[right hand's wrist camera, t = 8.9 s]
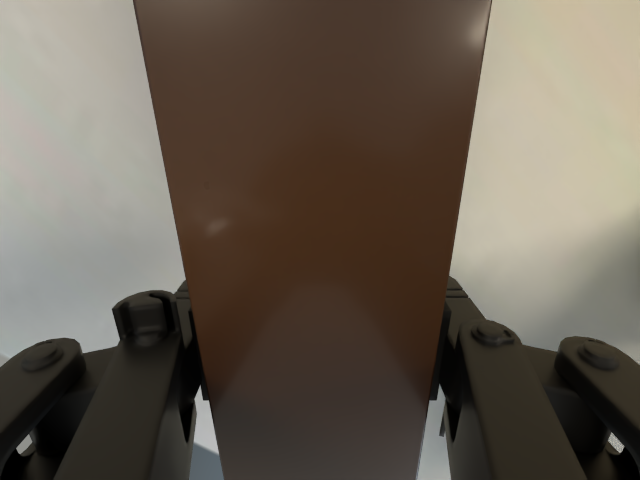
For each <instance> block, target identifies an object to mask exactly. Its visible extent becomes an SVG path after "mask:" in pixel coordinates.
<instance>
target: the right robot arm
mask: <svg viewBox="0 0 640 480" xmlns="http://www.w3.org/2000/svg"><path fill="white" fill-rule="evenodd" d="M112 311H113V315H114V319H115V322H116V326H117V330H118V334H119V337H120V341H119V343H118V345H117V346H116V347H112V348H108V349H103V350H98V351H93V352H88V353H82V350H81V347H80V344H79V343H78V342H77V341H76V340H75V339H69V338H59V339H50V340H46V341H42V342H39V343H37V344H35V345H33V346H31V347H29V348H27V349H24V350H23V351H21V352H20V353H18V354H17V355H15V356H14V357H12V358H11V359H10V360H9V361H7V362H6V363H5V364H4V365H3V366H1V367H0V480H189V475H190V466H191V458H192V450H193V441H194V433H195V424H196V416H197V412H196V405H195V400H194V398H195V396H196V394H197V391H198V389H199V387H200V384H201V390H202V396H203V400H209V398H208V392H207V387H206V382H205V377H204V371H203V366H202V361H201V356H200V350H199V345H198V340H197V335H196V329H195V324H194V319H193V314H192V308H191V303H190V298H189V293H188V287H187V282H186V280H185V281H184V282H183V283H182V285H181V286H180V287H179V288H178V290H177V292H175V294H174V295H173V294H172V293H171V292H167V291H163V290H151V291H145V292H140V293H137V294H134V295H131V296H129V297H127V298H125V299H123V300H121V301H120V302H118V303H117V304H116V305H115V306H114V307H113V308H112ZM439 383H440V385H441V388H442V390H443V393H444V395H445V397H446V400H445V405H444V411H443V416H442V422H441V427H440V434H439V436H443V437H444V433H445V432H446V440H447V449H448V457H449V465H450V474H451V480H640V365H639V364H638V363H636V362H635V361H634V360H633V359H631V358H630V357H629V356H628V355H626V354H625V353H623V352H622V351H620V350H619V349H617V348H615V347H613V346H611V345H609V344H606V343H605V342H603V341H600V340H597V339H596V340H595V339H593V338H588V337H578V336H573V337H567V338H565V339H564V340H562V341H561V342H560V346H559V349H558V352H555V351H550V350H545V349H540V348H535V347H530V346H526V345H522V343H521V341H520V339H519V338H518V336H517V335H516V334H515V333H514V332H513V331H512V330H510V329H509V328H507V327H506V326H504V325H502V324H499V323H497V322H494V321H490V320H486V319H485V317H484V316H483V315H482V313H481V312H480V311H479V310H478V308H477V307H476V306H475V304H474V303H473V302H472V300H471V299H470V298H468V295H467V294H466V293H465V291H464V290H463V289H462V287H461V286H460V285H459V283H458V282H457V281H456V280H455V279H454V278H452V277H450V276H449V278H448V284H447V291H446V297H445V304H444V310H443V316H442V323H441V329H440V335H439V342H438V348H437V355H436V361H435V367H434V374H433V380H432V386H431V393H430V399H429V400H437V395H438V389H439ZM611 432H612V433H613V434H614V435H615V436H616V437H617V438H618V440H619V441H620V442H621V443H622V444H623V445H624V446H625V447H624V449H623V451H622V452H621V453H619V452H618V451H617V450H616V449H615V448H614V447H613V446H612V445H611V444H610V443H609V442H608V439H609V436H610V434H611ZM28 434H29V435H30V437H31V440H32V444H31V445H30V446H29V447H28V448H27V449H26V450H25V451H24V452H23V453H21V454H19V453H18V452H17V449H16V448H17V446H18V445H19V444H20V443H21V442H22V441H23V440H24V438H25V437H26V436H27V435H28Z"/></svg>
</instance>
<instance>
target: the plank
mask: <svg viewBox="0 0 640 480" xmlns="http://www.w3.org/2000/svg"><path fill="white" fill-rule="evenodd" d="M133 4H134V9H135V14H136V19H137V25H138V30H139V35H140V40H141V46H142V51H143V56H144V61H145V67H146V72H147V77H148V82H149V88H150V93H151V98H152V104H153V109H154V114H155V119H156V125H157V130H158V135H159V140H160V146H161V151H162V156H163V161H164V167H165V172H166V177H167V182H168V188H169V193H170V198H171V203H172V209H173V214H174V219H175V224H176V230H177V235H178V240H179V245H180V251H181V256H182V261H183V266H184V272H185V277H186V282H187V287H188V293H189V298H190V303H191V308H192V314H193V319H194V324H195V329H196V335H197V340H198V345H199V350H200V356H201V361H202V366H203V371H204V377H205V382H206V387H207V392H208V398H209V403H210V408H211V413H212V419H213V424H214V429H215V434H216V440H217V445H218V450H219V455H220V461H221V466H222V471H223V476H224V480H417V476H418V469H419V463H420V456H421V450H422V444H423V437H424V431H425V425H426V418H427V412H428V406H429V399H430V393H431V386H432V380H433V374H434V367H435V361H436V355H437V348H438V342H439V335H440V329H441V323H442V316H443V310H444V304H445V297H446V291H447V284H448V278H449V272H450V265H451V259H452V253H453V246H454V240H455V233H456V227H457V221H458V214H459V208H460V202H461V195H462V189H463V182H464V176H465V170H466V163H467V157H468V151H469V144H470V138H471V131H472V125H473V119H474V112H475V106H476V100H477V93H478V87H479V80H480V74H481V68H482V61H483V55H484V49H485V42H486V36H487V30H488V23H489V17H490V10H491V4H492V0H133Z"/></svg>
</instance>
